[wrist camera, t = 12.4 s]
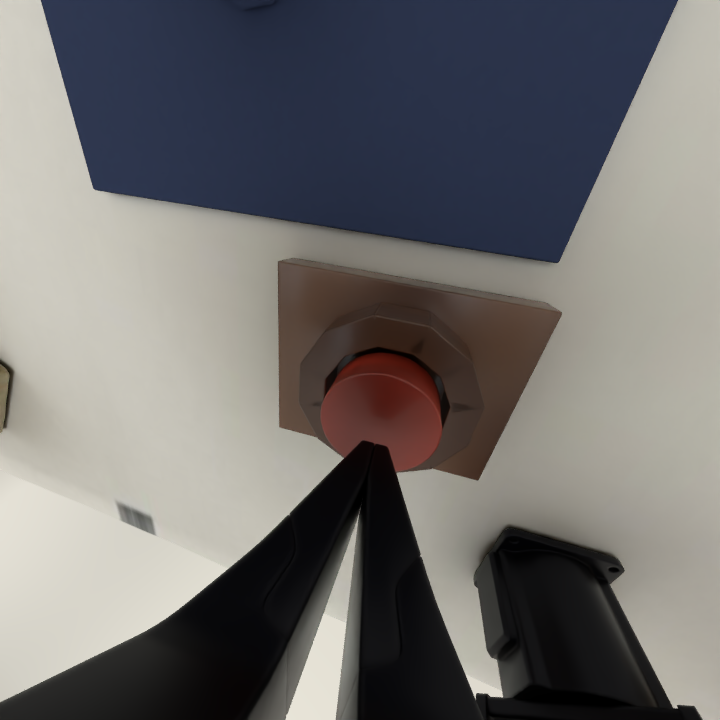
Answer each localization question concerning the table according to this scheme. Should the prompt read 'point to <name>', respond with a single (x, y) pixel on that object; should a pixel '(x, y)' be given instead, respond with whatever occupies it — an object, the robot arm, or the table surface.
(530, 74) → the pad
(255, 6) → the milkshake
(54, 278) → the table surface
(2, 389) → the caddy
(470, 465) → the button block
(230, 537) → the table surface
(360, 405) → the button
